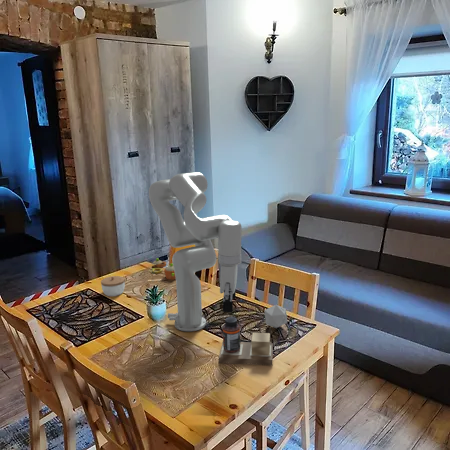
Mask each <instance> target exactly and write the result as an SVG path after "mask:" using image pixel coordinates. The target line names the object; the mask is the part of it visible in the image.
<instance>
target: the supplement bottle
mask: <svg viewBox="0 0 450 450" xmlns="http://www.w3.org/2000/svg"><path fill="white" fill-rule="evenodd" d="M224 322H225V323H224V324H223V325H222V342H223V348H224V350H225V351H226V352H229V353H235V352H237V351H239V350H240V342H241V327H240V324H239V323H238V319H237V318H236V317H235V316H230V317H229V316H228V317H227V318H225V321H224Z"/></svg>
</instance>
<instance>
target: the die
mask: <svg viewBox="0 0 450 450" xmlns="http://www.w3.org/2000/svg"><path fill="white" fill-rule="evenodd" d="M264 317H265V318H264V321H265V324H266V325H267V326H270V327H272V328H275V329H277V328H280V327H282V326H283V325H286V324H287V323H288V315H287V308H285V307H282V306H280V305H278V304H274V305H273V306H271V307H268V308H266V309H265V310H264Z"/></svg>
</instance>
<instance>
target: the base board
mask: <svg viewBox="0 0 450 450" xmlns="http://www.w3.org/2000/svg"><path fill="white" fill-rule="evenodd" d="M273 347H274V344H273V343H271V342H270V353H269V355H252V349H251V341H250V342H249V341H248V342H246V341H240V350H239V351H237V352H235V353H229V352H226V351H225V350H224V348H223V341H222V343H221V346H220V351H219V353H218V354H219V355H218V363H219V364H233V365H253V366H254V365H255V366H256V365H258V366H273V359H274V358H273V357H274V356H273V355H274V353H273V352H274V350H273V349H274V348H273Z"/></svg>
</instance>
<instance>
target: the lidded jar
mask: <svg viewBox="0 0 450 450" xmlns="http://www.w3.org/2000/svg"><path fill="white" fill-rule="evenodd" d="M125 280H126V279H125V277H123V276H119V275H115V276H114V275H112V276H108V277H107V276H106V277H105V278H102V279H101V281H100V284H101V289H102V292H103V294H104V295H105V296H107V297H117V296H120V295H122V294H123V292H124V290H125V287H126V286H125V285H126V284H125Z"/></svg>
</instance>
